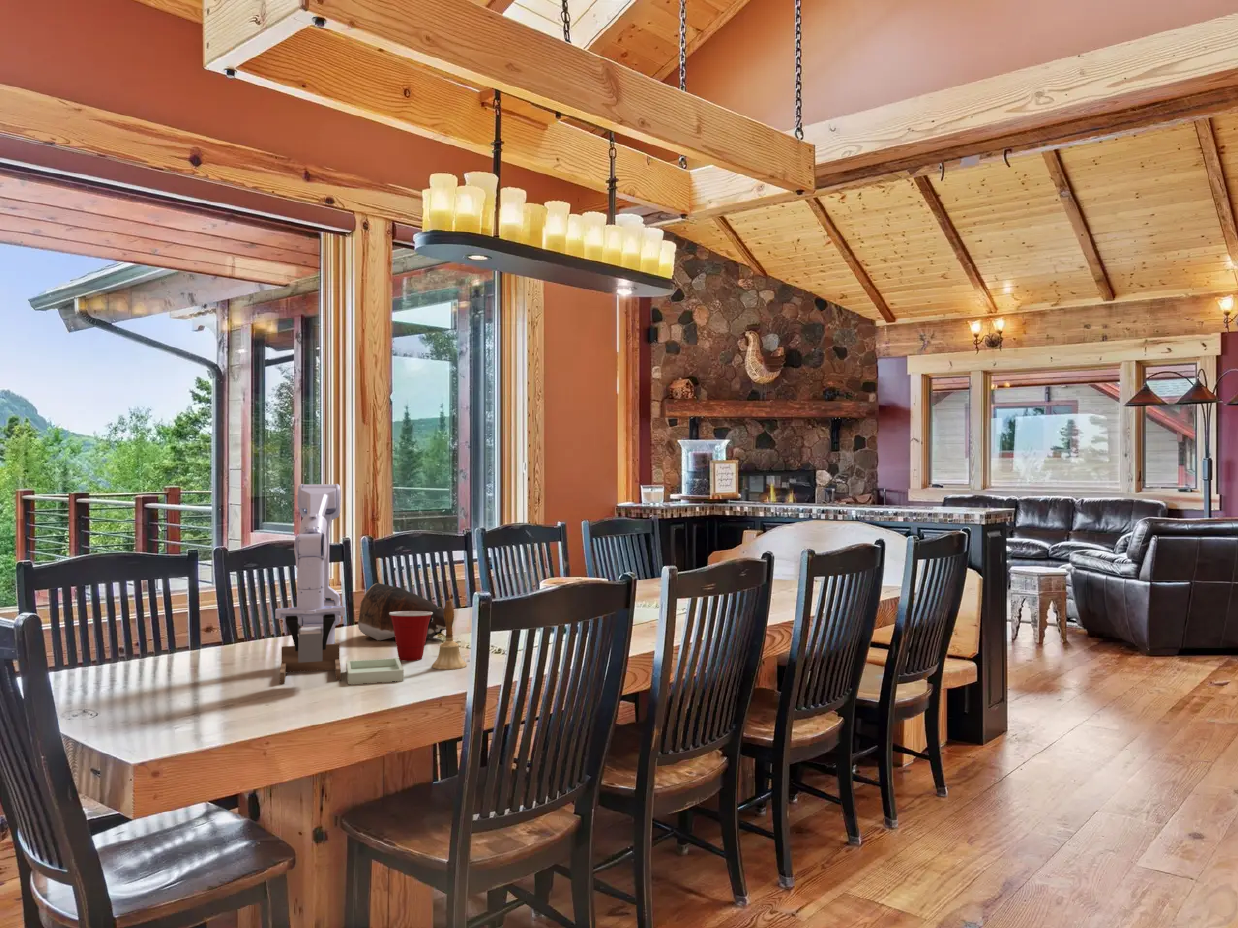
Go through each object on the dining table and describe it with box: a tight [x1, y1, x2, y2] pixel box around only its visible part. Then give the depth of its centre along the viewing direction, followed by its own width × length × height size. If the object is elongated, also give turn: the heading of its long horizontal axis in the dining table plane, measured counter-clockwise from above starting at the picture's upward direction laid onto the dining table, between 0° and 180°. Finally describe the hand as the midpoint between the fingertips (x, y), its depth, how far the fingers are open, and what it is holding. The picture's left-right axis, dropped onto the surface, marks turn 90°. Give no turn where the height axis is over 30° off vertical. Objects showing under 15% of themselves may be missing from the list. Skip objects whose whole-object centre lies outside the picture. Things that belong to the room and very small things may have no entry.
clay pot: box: [357, 582, 446, 641], centre depth 266 cm, size 15×15×25 cm
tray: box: [345, 657, 405, 685], centre depth 219 cm, size 14×12×2 cm
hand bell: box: [431, 599, 467, 671], centre depth 230 cm, size 8×8×16 cm
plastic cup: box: [389, 611, 433, 662], centre depth 239 cm, size 11×11×12 cm
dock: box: [279, 643, 342, 685], centre depth 219 cm, size 13×13×6 cm
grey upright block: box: [298, 627, 323, 663], centre depth 209 cm, size 8×5×6 cm, turn 18°
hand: (310, 649), depth 209 cm, fingers closed on grey upright block, 5 cm apart
